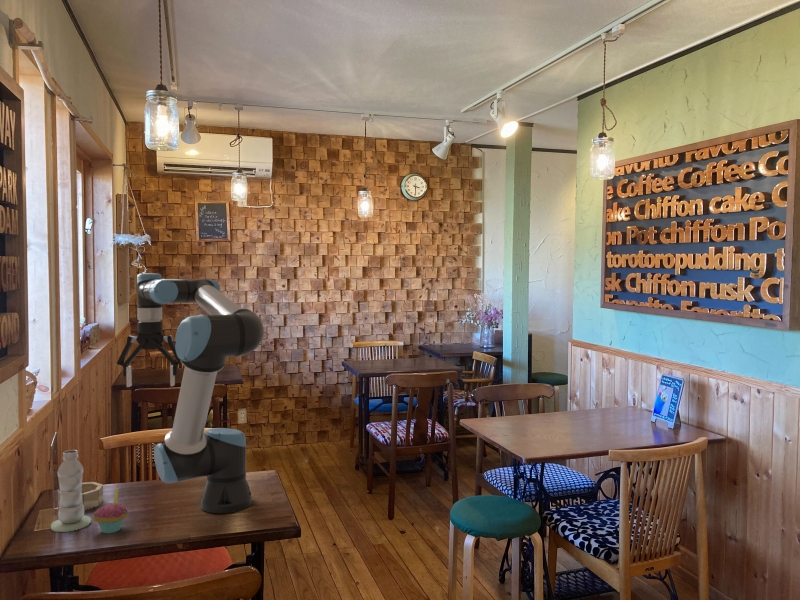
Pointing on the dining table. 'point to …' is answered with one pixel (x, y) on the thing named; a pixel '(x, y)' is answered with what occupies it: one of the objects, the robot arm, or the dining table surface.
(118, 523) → the cupcake
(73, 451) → the plastic bottle
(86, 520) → the sage coaster
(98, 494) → the birch collar
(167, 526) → the dining table surface
